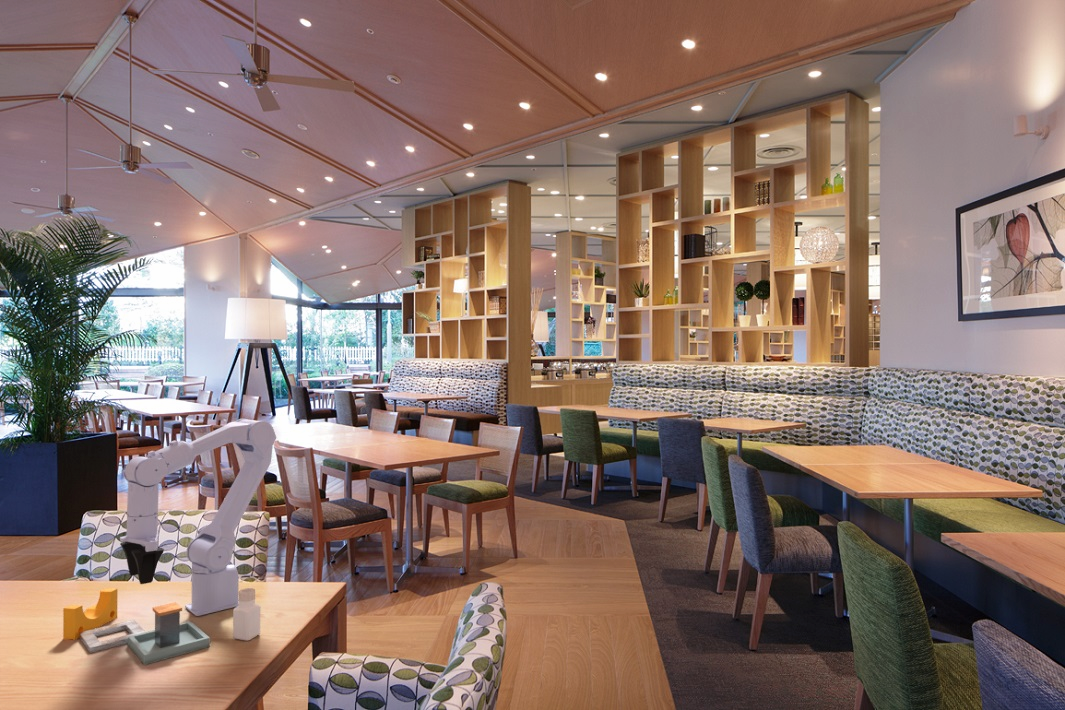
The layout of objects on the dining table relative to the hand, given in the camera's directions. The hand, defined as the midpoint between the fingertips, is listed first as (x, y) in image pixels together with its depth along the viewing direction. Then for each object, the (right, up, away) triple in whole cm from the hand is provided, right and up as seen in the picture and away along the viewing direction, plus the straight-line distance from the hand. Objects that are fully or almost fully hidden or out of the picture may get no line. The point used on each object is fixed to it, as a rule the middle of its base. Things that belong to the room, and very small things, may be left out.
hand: (140, 578), depth 145 cm
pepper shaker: (+24, -11, -4) cm, 27 cm away
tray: (+11, -11, -9) cm, 17 cm away
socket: (-3, -10, -5) cm, 12 cm away
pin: (+10, -10, -9) cm, 17 cm away
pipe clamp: (-11, -11, 0) cm, 16 cm away
